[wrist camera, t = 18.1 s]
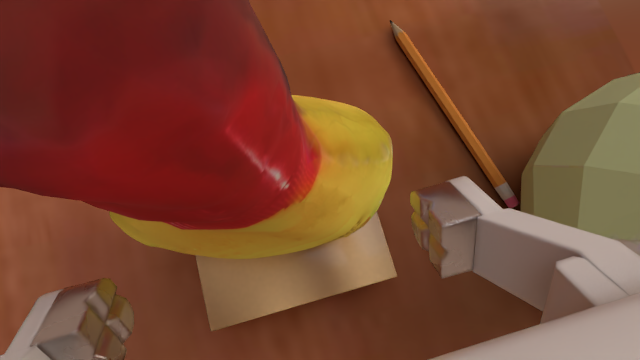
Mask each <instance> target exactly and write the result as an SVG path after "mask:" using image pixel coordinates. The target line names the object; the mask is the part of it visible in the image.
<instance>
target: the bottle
mask: <svg viewBox="0 0 640 360" xmlns="http://www.w3.org/2000/svg"><path fill="white" fill-rule="evenodd" d="M391 173H392V141H391V138H390V136H389V134H388V133H387V132H386V131H385V130H384V129H383V128H382V127H381V126H380V125H379V123H378V122H377V121H376V120H375V119H374V118H373V117H372V116H370V115H369V114H368V113H366V112H365V111H363V110H361V109H359V108H357V107H354V106H351V105H347V104H344V103H340V102H336V101H330V100H324V99H318V98H313V97H306V96H298V95H291V92H290V87H289V83H288V79H287V76H286V74H285V71H284V69H283V67H282V64H281V62H280V60H279V59H278V57H277V55H276V53H275V51H274V49H273V47H272V45H271V43H270V41H269V39H268V37H267V35H266V33H265V31H264V29H263V28H262V26H261V24H260V22H259V20H258V18H257V16H256V14H255V12H254V11H253V9H252V7H251V5H250V3H249V0H0V187H6V188H15V189H19V190H23V191H27V192H30V193H34V194H38V195H42V196H50V197H57V198H65V199H73V200H81V201H83V202H85V203H88V204H90V205H92V206H95V207H97V208H101V209H104V210H107V211H109V213H110V217H111V219H112V220H113V222H114V223H115V224H116V225H118V226H119V227H120V228H121V229H122V230H123V231H124V232H125V233H126V234H127V235H129V236H130V237H131V238H133V239H135V240H137V241H139V242H141V243H143V244H145V245H147V246H152V247H160V248H164V249H168V250H172V251H176V252H180V253H185V254H191V255H199V256H206V257H213V258H225V259H253V258H262V257H270V256H276V255H283V254H289V253H293V252H298V251H302V250H306V249H310V248H313V247H316V246H319V245H322V244H325V243H328V242H331V241H334V240H337V239H340V238H343V237H348V236H349V235H350V234H351V233H353V232H355V231H356V230H358V229H360V228H362V227H363V226H364V225H365V224H366V223H367V222H368V221H369V220H370V219H371V218H372V216H373V215H374V214H375V212H376V211H377V210H378V208H379V206H380V204H381V202H382V200H383V197H384V194H385V192H386V190H387V188H388V186H389V183H390V179H391Z"/></svg>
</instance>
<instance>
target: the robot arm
mask: <svg viewBox="0 0 640 360" xmlns="http://www.w3.org/2000/svg"><path fill="white" fill-rule="evenodd" d="M410 204H411V205H412V207H413V208H414V209H415V211H414V213H413V214H412V216H411V220H412V227H413V231H414V235H415V237H416V239H417V241H418V243H419V245H420V246H421V248H422V249H424V250H426V251H429V256H430V262H431V263H432V265H433V266H434V268H435V269H436V271H437V272H438V274H439V275H440V277H441V278H446V277H450V276H453V275H457V274H461V273H464V272H468V271H472V270H473V272H474V273H476V274H478V275H480V276H481V277H483V278H485V279H487V280H488V281H490V282H492V283H494V284H495V285H497V286H499V287H501V288H502V289H504V290H506V291H508V292H509V293H511V294H513V295H515V296H516V297H518V298H520V299H522V300H523V301H525V302H527V303H529V304H530V305H532V306H534V307H536V308H537V309H539V310H541V311H543V313H542V317H541V321H540V324H539V325H536V326H532V327H529V328H526V329H523V330H520V331H517V332H513V333H510V334H507V335H504V336H501V337H498V338H495V339H491V340H488V341H485V342H482V343H479V344H476V345H472V346H469V347H466V348H463V349H460V350H457V351H453V352H450V353H447V354H444V355H441V356H438V357H435V358H431V359H428V360H640V256H639V255H637V254H636V253H635V252H633V251H632V250H630V249H629V248H628V247H626V246H625V245H624V244H622V243H621V242H619V241H617V240H613V239H610V238H607V237H604V236H600V235H597V234H594V233H590V232H587V231H584V230H580V229H577V228H574V227H570V226H567V225H564V224H560V223H557V222H554V221H551V220H547V219H544V218H541V217H537V216H534V215H531V214H527V213H524V212H521V211H517V210H514V209H511V208H507V209H502V208H501V207H500V206H499V205H498V204H497V203H496V202H495V201H494V200H492V199H491V198H490V197H489V196H488V195H487V194H486V193H485V192H484V191H482V190H481V189H480V188H479V187H478V186H477V185H476V184H475V183H474V182H473V181H471V180H470V179H469V178H468V177H466V176H462V177H458V178H455V179H452V180H449V181H446V182H443V183H440V184H436V185H433V186H430V187H426V188H423V189H419V190H416V191H412V192H411V195H410ZM116 290H117V286H116V285H115V284H114V283H113V282H112V281H111V279H107V278H102V279H98V280H95V281H91V282H87V283H83V284H79V285H75V286H71V287H67V288H65V289H61V290H57V291H53V292H49V293H46V294H44V295H42V296H41V297H39V298H38V299H37V301H36V303H35V304H34V306H33V307H32V309H31V311H30V312H29V314H28V316H27V317H26V319H25V321H24V322H23V324H22V326H21V327H20V329H19V331H18V332H17V334H16V336H15V337H14V339H13V341H12V342H11V344H10V346H9V347H8V349H7V351H6V352H5V354H4V355H1V356H0V360H124V358H125V355H126V351H127V349H126V348H125V346H124V344H123V343H124V342H125V341H126V340H127V338H128V337H129V336H130V335H131V334H132V330H133V326H134V312H133V310H132V307H131V304H130V303H129V302H128V300H127V299H126V298H124V297H121V296H119V295H116Z"/></svg>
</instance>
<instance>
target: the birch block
mask: <svg viewBox="0 0 640 360" xmlns="http://www.w3.org/2000/svg"><path fill="white" fill-rule="evenodd" d="M195 257H196V262H197V266H198V271H199V276H200V281H201V286H202V291H203V296H204V301H205V306H206V311H207V316H208V321H209V326H210V331H215V330H218V329H222V328H225V327H229V326H232V325H235V324H239V323H242V322H245V321H249V320H252V319H256V318H259V317H262V316H266V315H269V314H272V313H276V312H279V311H283V310H286V309H289V308H293V307H296V306H299V305H303V304H306V303H310V302H313V301H316V300H320V299H323V298H327V297H330V296H333V295H337V294H340V293H343V292H347V291H350V290H354V289H357V288H360V287H364V286H367V285H370V284H374V283H377V282H381V281H384V280H387V279H391V278H394V277H397V273H396V270H395V267H394V264H393V261H392V257H391V254H390V251H389V248H388V245H387V242H386V238H385V235H384V232H383V229H382V226H381V223H380V219H379V216H378V213H377V211H376V212H375V214H374V215H373V216H372V218H371V219H370V220H369V221H368V222H367V223H366V224H365V225H364V226H363V227H362V228H360V229H358V230H356V231H355V232H353V233H351V234H350V235H349V236H348V237H343V238H340V239H337V240H334V241H331V242H328V243H325V244H322V245H319V246H316V247H313V248H310V249H306V250H302V251H298V252H293V253H289V254H283V255H276V256H270V257H262V258H253V259H225V258H213V257H206V256H199V255H195Z"/></svg>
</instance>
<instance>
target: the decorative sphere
mask: <svg viewBox="0 0 640 360" xmlns="http://www.w3.org/2000/svg"><path fill="white" fill-rule="evenodd" d="M521 212H524V213H527V214H531V215H534V216H537V217H541V218H544V219H547V220H551V221H554V222H557V223H560V224H564V225H567V226H570V227H574V228H577V229H580V230H584V231H587V232H590V233H594V234H597V235H600V236H604V237H607V238H610V239H613V240H617V241H619V242H621V243H622V244H624V245H625V246H626V247H628V248H629V249H630V250H632V251H633V252H635V253H636V254H637V255H639V256H640V72H639V73H635V74H632V75H628V76H626V77H622V78H618V79H614V80H612V81H611V82H609V83H607V84H606V85H604V86H603V87H601V88H600V89H598V90H596V91H595V92H593V93H592V94H590V95H588V96H587V97H585V98H584V99H582V100H581V101H579V102H577V103H576V104H574V105H573V106H571V107H570V108H568V109H566V110H565V111H563V112H562V113H561V114H560V115H559V116H558V118H557V119H556V120H555V121H554V123H553V124H552V125H551V126H550V128H549V129H548V130H547V131H546V133H545V134H544V135H543V136H542V138H541V140H540V141H539V143H538V145H537V147H536V149H535V150H534V152H533V154H532V156H531V158H530V160H529V161H528V163H527V165H526V167H525V169H524V171H523V172H522V179H521Z"/></svg>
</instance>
